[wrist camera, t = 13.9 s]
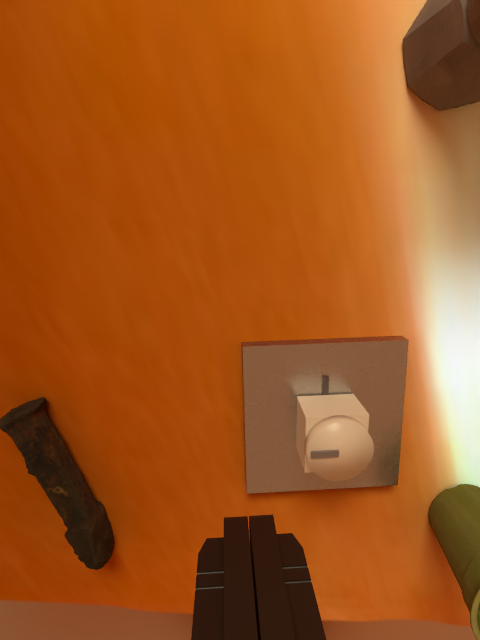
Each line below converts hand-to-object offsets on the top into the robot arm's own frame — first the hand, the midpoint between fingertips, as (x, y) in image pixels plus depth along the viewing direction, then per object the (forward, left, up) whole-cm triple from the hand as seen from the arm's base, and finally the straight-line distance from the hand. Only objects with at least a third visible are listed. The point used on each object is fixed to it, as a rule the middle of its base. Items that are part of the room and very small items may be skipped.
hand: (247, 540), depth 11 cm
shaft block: (-9, -9, -25) cm, 28 cm away
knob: (-9, -9, -23) cm, 27 cm away
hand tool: (-15, +17, -26) cm, 34 cm away
